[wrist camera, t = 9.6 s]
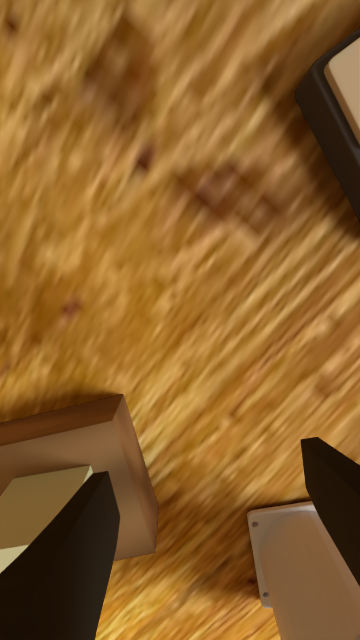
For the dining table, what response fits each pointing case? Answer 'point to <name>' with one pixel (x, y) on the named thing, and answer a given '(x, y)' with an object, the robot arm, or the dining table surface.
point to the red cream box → (336, 111)
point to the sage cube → (34, 507)
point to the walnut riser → (88, 461)
